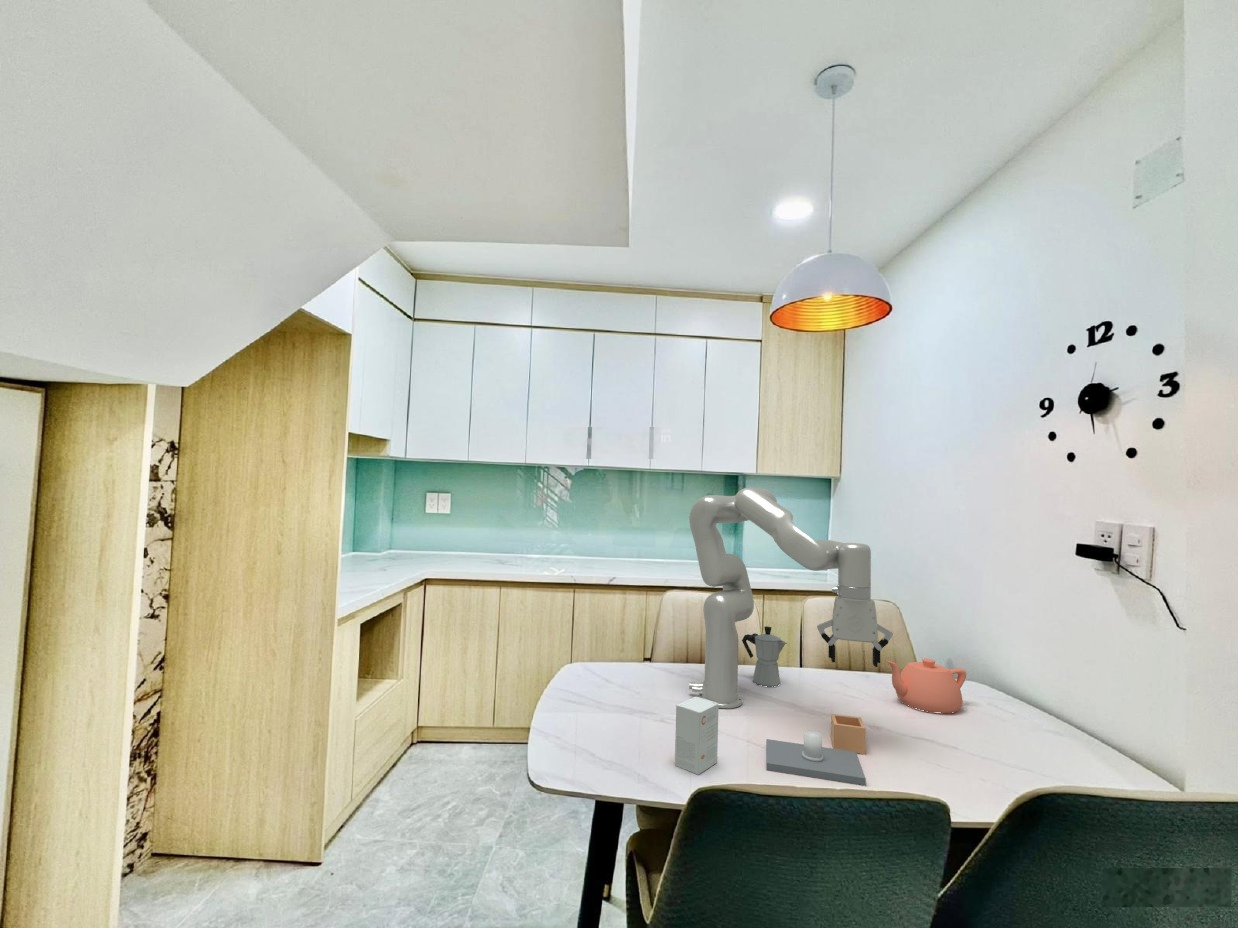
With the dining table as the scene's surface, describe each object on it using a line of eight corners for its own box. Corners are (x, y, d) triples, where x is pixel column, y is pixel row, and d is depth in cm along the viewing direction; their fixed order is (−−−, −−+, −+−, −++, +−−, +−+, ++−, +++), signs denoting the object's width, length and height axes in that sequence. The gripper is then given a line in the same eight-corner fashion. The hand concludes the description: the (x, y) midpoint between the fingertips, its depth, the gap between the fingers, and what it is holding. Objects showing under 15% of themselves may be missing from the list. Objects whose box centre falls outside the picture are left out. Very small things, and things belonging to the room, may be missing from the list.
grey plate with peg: (766, 770, 122) (767, 739, 122) (766, 745, 134) (767, 717, 135) (865, 785, 117) (865, 753, 117) (855, 758, 129) (856, 729, 130)
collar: (833, 750, 133) (834, 724, 134) (830, 738, 140) (830, 713, 140) (865, 754, 132) (865, 728, 132) (860, 742, 138) (860, 717, 139)
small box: (693, 753, 128) (695, 695, 129) (717, 763, 124) (719, 702, 125) (673, 765, 122) (675, 704, 123) (698, 775, 118) (700, 712, 119)
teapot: (901, 715, 158) (902, 667, 159) (870, 694, 175) (870, 651, 176) (985, 716, 160) (985, 668, 161) (946, 695, 177) (946, 652, 178)
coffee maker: (789, 683, 182) (791, 627, 183) (782, 690, 175) (783, 632, 176) (745, 674, 190) (747, 620, 191) (736, 681, 183) (738, 625, 184)
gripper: (818, 592, 138) (817, 663, 137) (895, 598, 133) (895, 671, 132) (816, 588, 146) (816, 655, 144) (889, 593, 141) (889, 663, 139)
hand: (853, 663), depth 138 cm, fingers open, 9 cm apart
